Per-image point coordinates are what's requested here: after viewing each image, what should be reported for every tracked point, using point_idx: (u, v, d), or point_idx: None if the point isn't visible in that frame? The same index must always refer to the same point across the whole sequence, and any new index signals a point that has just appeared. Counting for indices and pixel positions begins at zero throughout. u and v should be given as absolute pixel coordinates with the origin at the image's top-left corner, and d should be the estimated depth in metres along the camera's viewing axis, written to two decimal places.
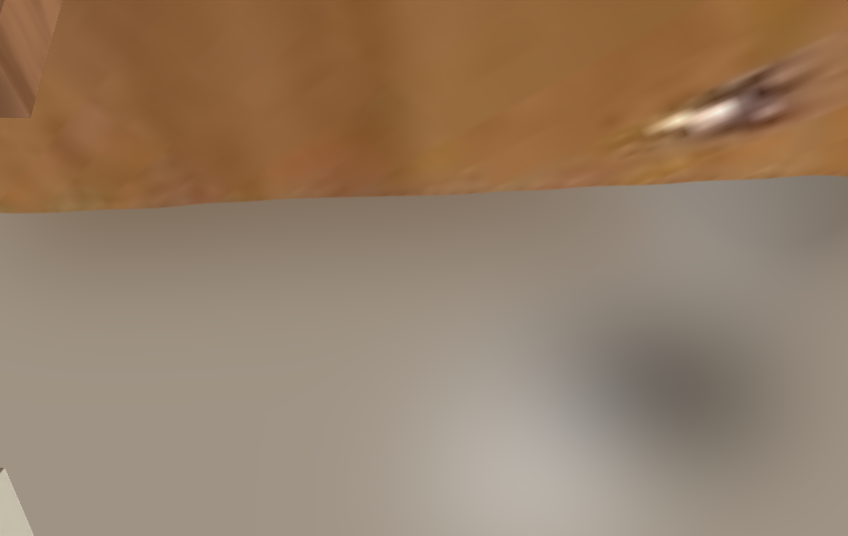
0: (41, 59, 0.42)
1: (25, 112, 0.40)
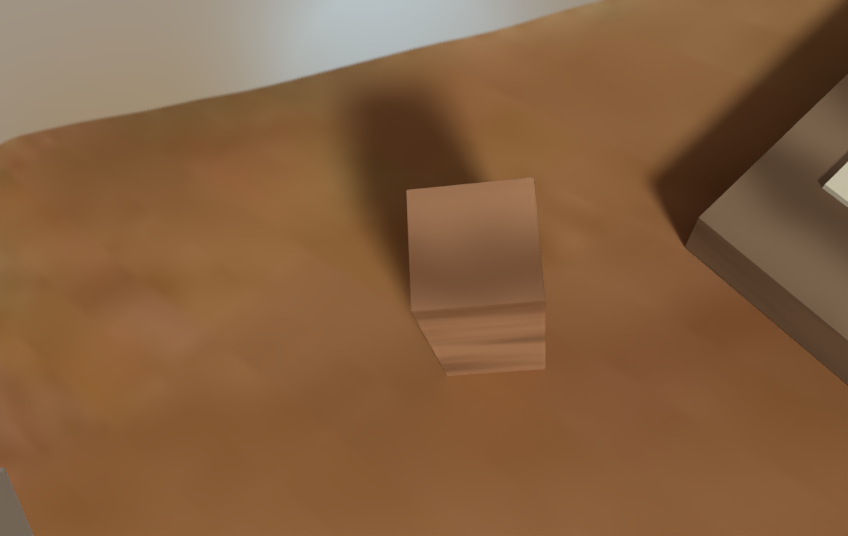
0: (434, 333, 0.33)
1: (422, 308, 0.30)
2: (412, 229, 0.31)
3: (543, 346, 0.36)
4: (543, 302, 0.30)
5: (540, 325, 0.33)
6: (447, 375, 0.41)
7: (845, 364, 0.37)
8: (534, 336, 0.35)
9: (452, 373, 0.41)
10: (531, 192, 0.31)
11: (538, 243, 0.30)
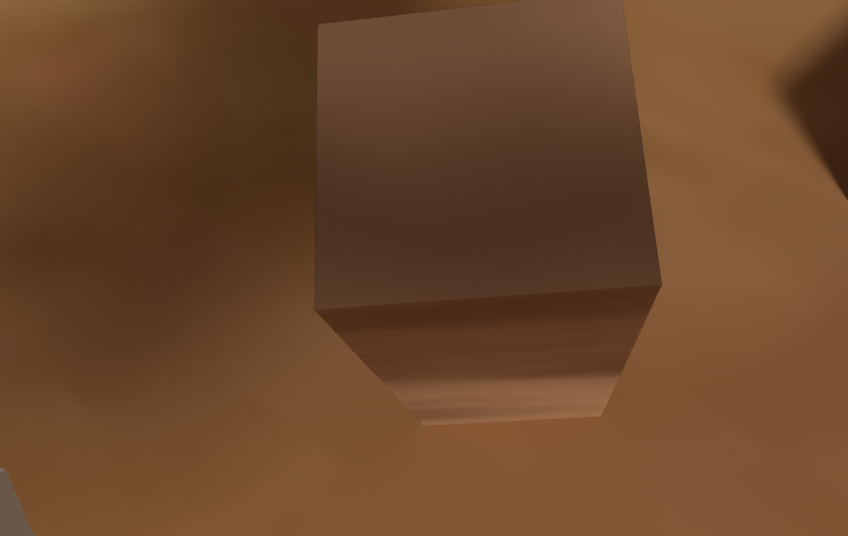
0: (386, 360, 0.15)
1: (342, 302, 0.12)
2: (327, 113, 0.13)
3: (612, 383, 0.18)
4: (654, 292, 0.12)
5: (623, 344, 0.15)
6: (424, 425, 0.23)
7: None
8: (601, 365, 0.16)
9: (432, 422, 0.23)
10: (617, 24, 0.13)
11: (638, 142, 0.12)
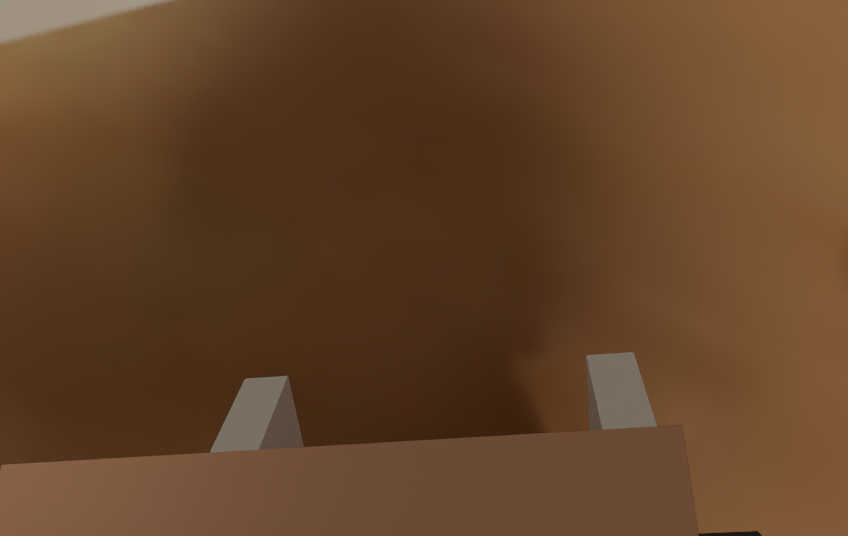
0: None
1: None
2: None
3: None
4: None
5: None
6: None
7: None
8: None
9: None
10: (675, 524, 0.05)
11: None
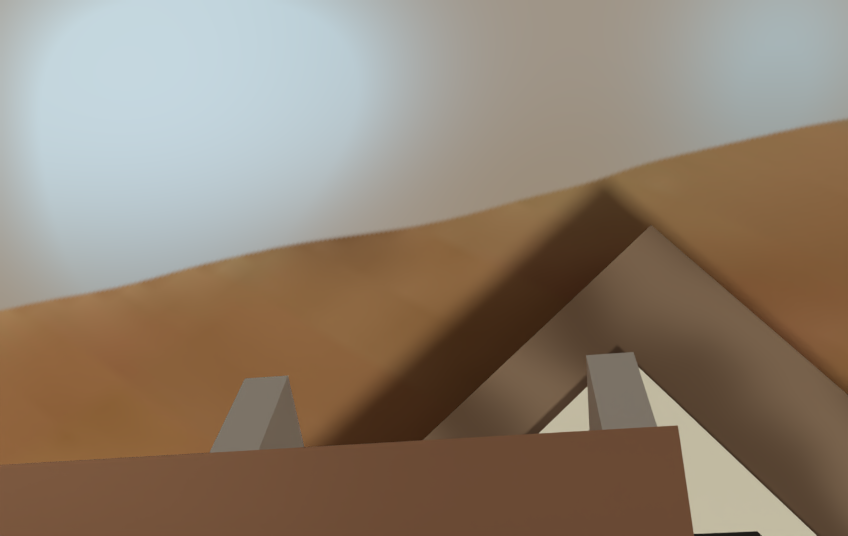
0: None
1: None
2: None
3: None
4: None
5: None
6: None
7: None
8: None
9: None
10: (672, 526, 0.05)
11: None
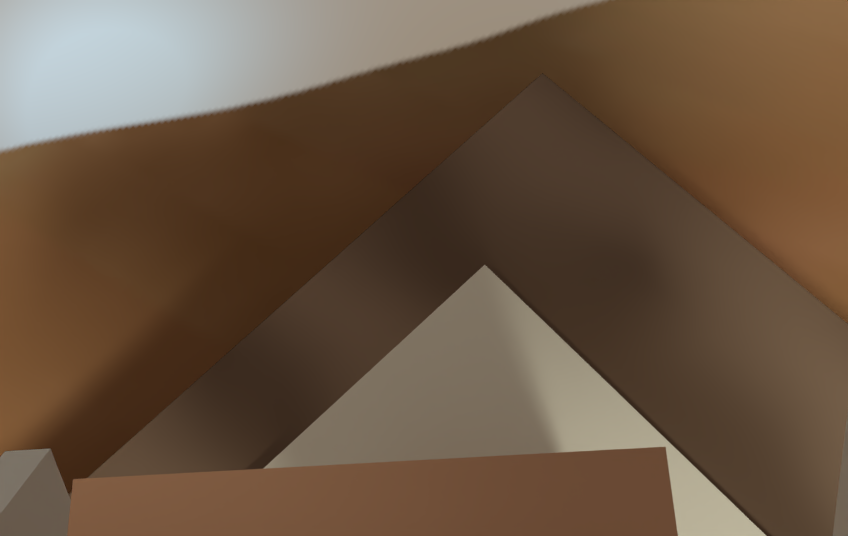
0: None
1: None
2: None
3: None
4: None
5: None
6: None
7: None
8: None
9: None
10: (660, 531, 0.06)
11: None
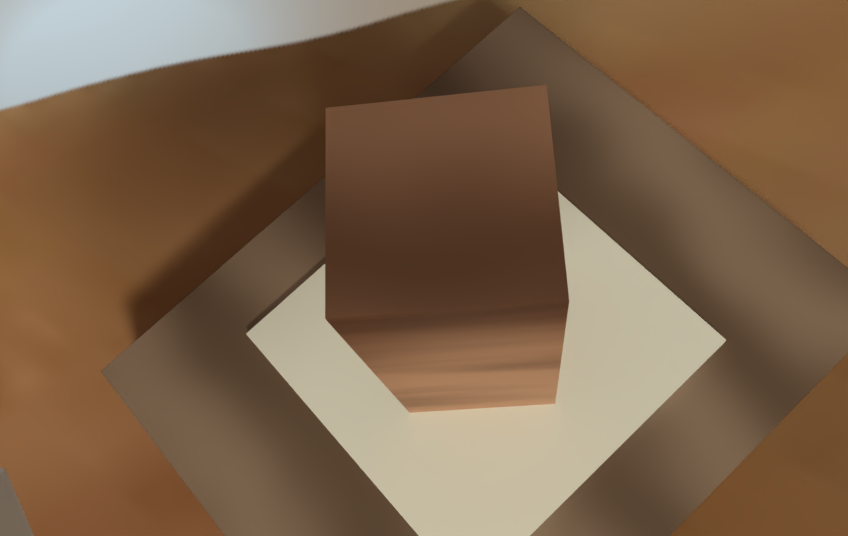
0: (377, 356, 0.20)
1: (345, 313, 0.17)
2: (333, 175, 0.18)
3: (556, 374, 0.23)
4: (565, 305, 0.16)
5: (555, 343, 0.19)
6: (409, 412, 0.28)
7: None
8: (543, 360, 0.21)
9: (416, 410, 0.27)
10: (543, 110, 0.18)
11: (556, 198, 0.17)
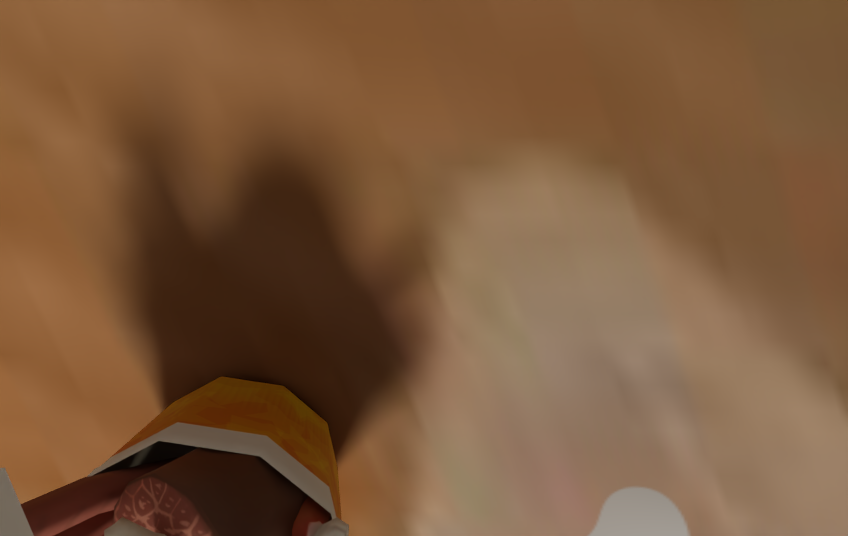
0: None
1: None
2: None
3: None
4: None
5: None
6: None
7: None
8: None
9: None
10: None
11: None
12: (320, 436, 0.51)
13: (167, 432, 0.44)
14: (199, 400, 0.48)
